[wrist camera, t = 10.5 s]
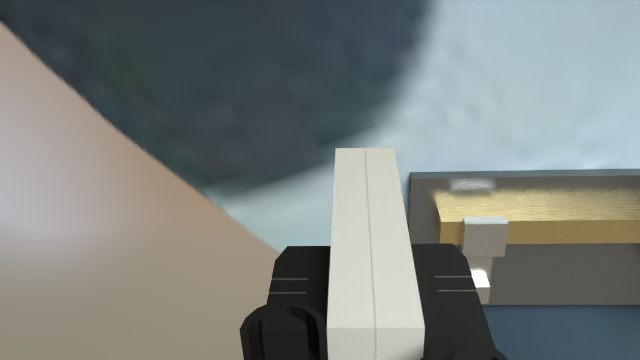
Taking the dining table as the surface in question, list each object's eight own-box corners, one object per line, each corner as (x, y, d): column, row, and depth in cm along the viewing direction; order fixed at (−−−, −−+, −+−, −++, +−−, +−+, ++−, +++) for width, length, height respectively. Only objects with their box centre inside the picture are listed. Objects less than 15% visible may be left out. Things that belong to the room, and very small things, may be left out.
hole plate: (410, 172, 42) (412, 179, 41) (801, 166, 40) (812, 173, 39) (405, 297, 47) (406, 305, 46) (748, 296, 46) (756, 305, 45)
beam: (437, 202, 42) (443, 224, 39) (786, 198, 40) (817, 220, 37) (432, 279, 45) (437, 304, 42) (754, 277, 43) (780, 303, 41)
